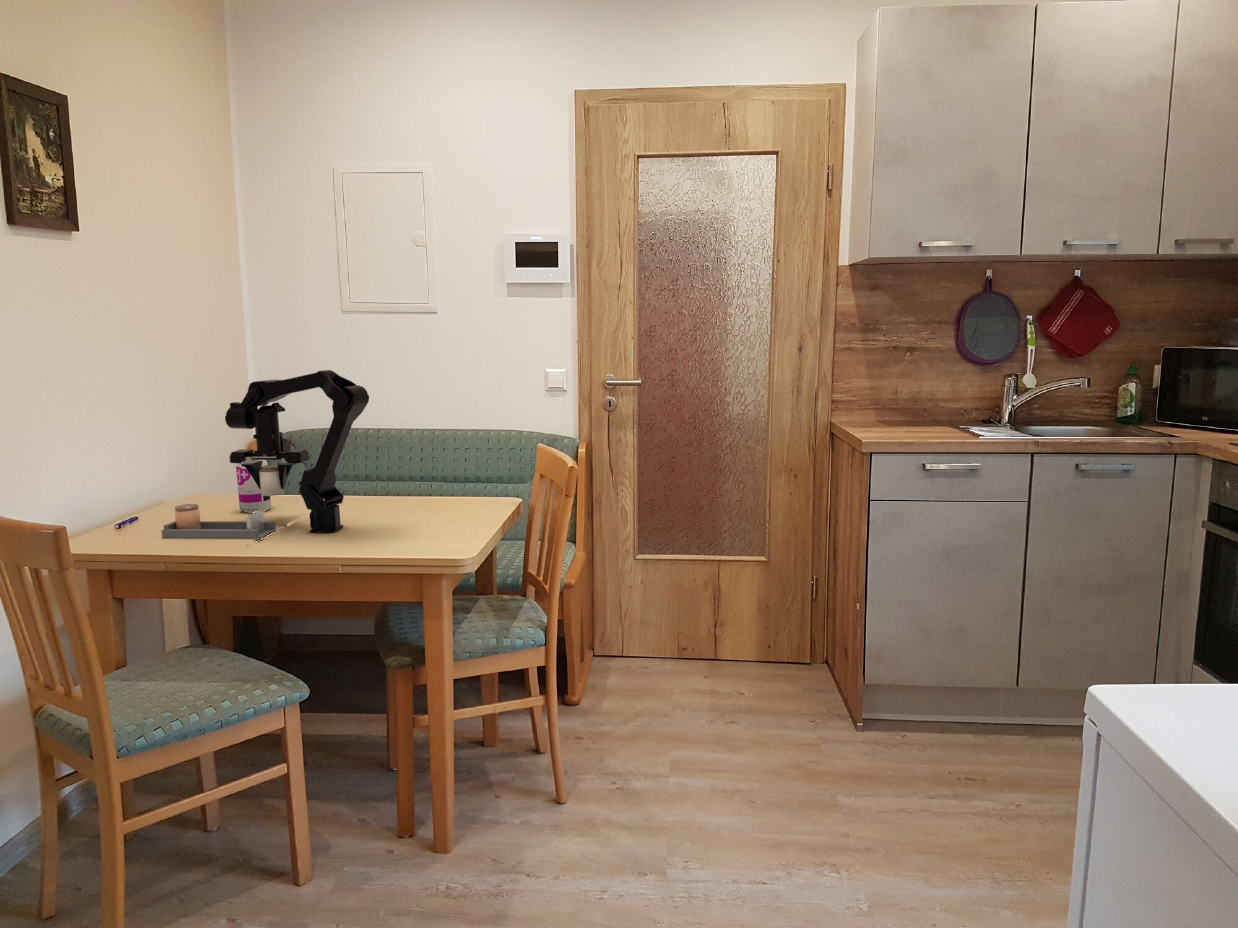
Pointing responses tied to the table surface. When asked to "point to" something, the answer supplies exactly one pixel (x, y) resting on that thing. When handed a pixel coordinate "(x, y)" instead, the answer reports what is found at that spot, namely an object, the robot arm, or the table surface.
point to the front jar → (187, 516)
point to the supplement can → (250, 491)
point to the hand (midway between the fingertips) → (272, 489)
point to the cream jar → (270, 481)
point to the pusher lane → (218, 530)
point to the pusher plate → (256, 521)
